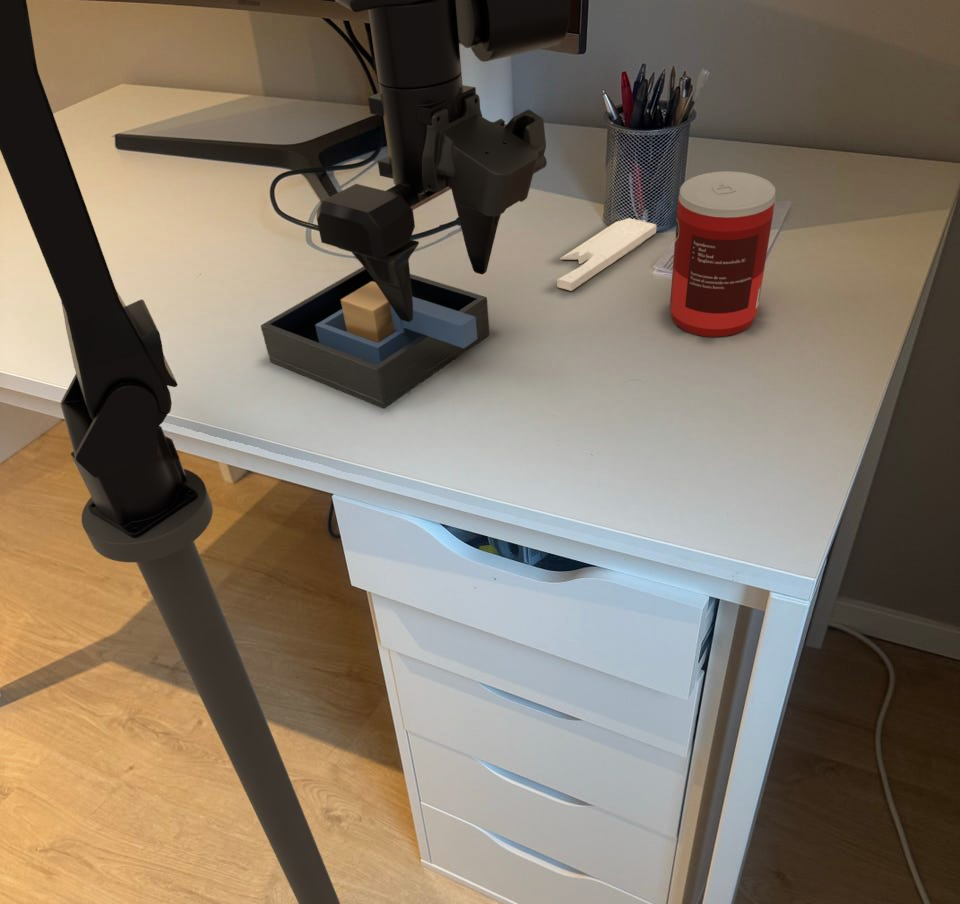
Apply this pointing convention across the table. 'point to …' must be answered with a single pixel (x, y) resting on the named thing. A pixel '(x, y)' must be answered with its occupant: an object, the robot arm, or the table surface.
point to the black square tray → (378, 384)
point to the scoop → (400, 331)
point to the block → (368, 313)
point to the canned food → (720, 251)
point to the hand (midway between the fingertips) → (444, 295)
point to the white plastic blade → (605, 250)
